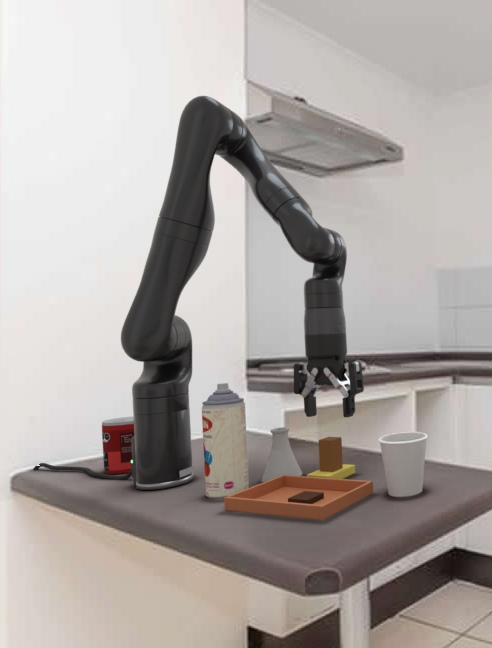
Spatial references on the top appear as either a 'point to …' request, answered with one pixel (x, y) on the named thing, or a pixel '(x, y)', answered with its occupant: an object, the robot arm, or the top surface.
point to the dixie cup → (404, 462)
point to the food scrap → (306, 497)
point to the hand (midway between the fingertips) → (329, 416)
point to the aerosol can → (224, 443)
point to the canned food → (117, 444)
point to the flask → (281, 457)
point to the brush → (332, 460)
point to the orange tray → (278, 490)
